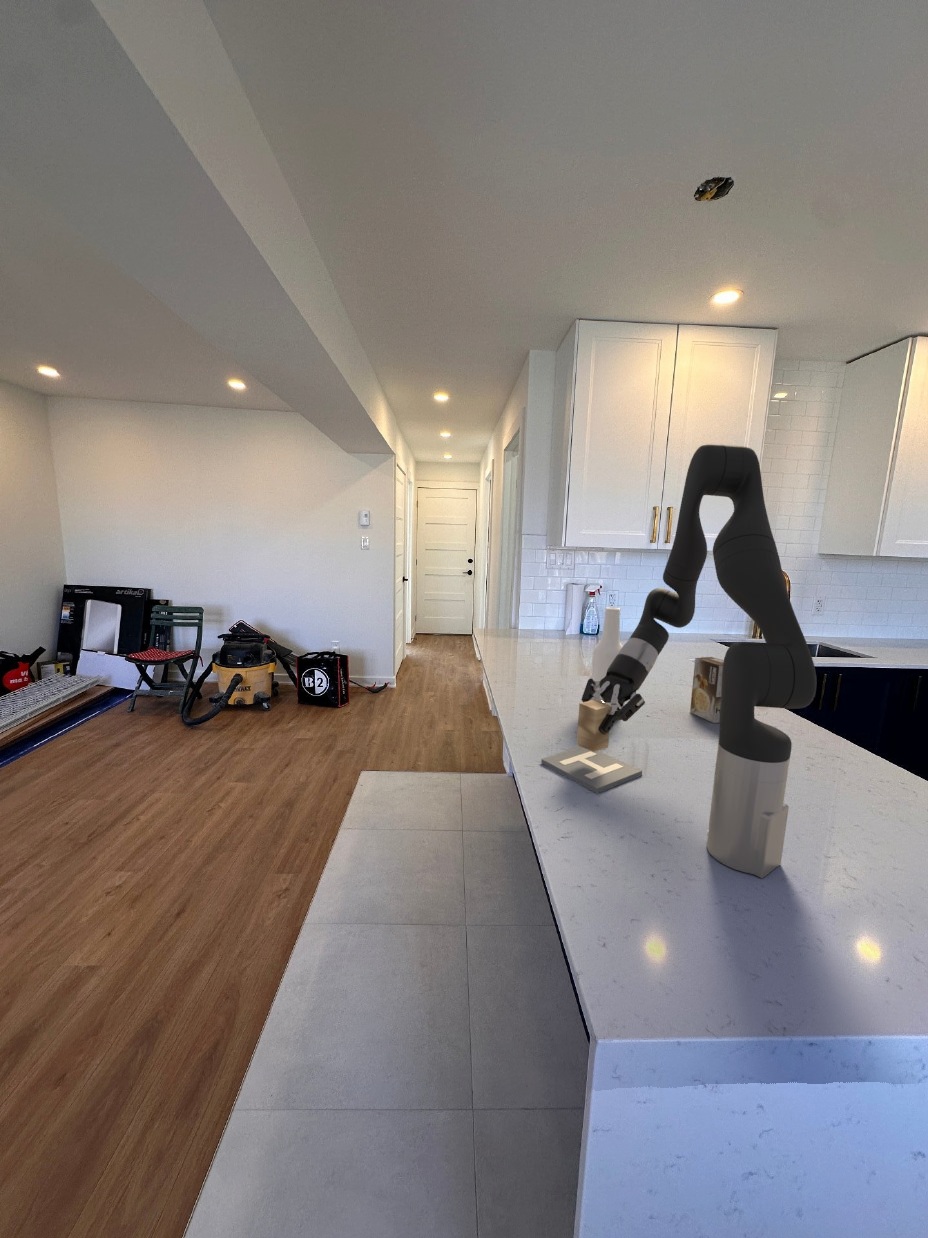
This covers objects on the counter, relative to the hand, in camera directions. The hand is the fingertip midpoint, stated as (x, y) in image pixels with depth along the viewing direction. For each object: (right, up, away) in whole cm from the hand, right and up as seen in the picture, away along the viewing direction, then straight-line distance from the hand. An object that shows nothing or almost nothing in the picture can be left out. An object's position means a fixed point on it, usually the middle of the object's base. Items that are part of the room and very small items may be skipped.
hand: (591, 727), depth 102 cm
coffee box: (+42, -5, +36) cm, 55 cm away
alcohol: (+13, -4, +34) cm, 37 cm away
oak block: (0, -4, +1) cm, 4 cm away
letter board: (0, -9, +2) cm, 9 cm away
